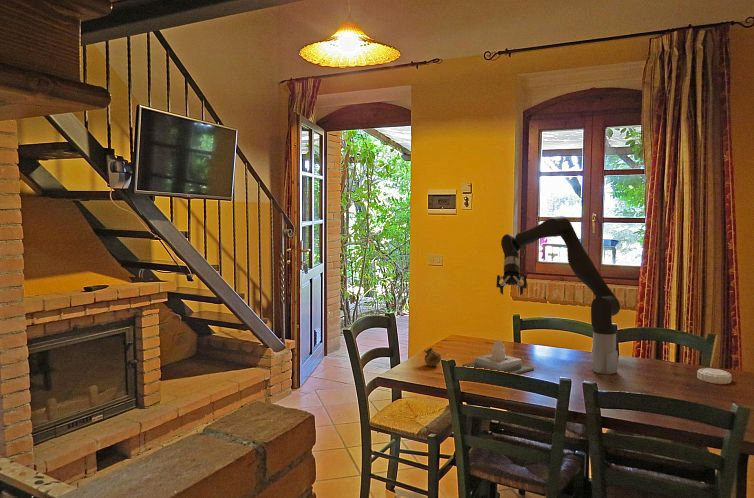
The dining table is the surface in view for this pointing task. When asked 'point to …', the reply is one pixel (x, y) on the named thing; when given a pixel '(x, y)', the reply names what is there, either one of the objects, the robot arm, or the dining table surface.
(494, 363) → the socket
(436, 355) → the onion
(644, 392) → the dining table surface
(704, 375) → the mooncake
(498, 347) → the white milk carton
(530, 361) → the dining table surface
